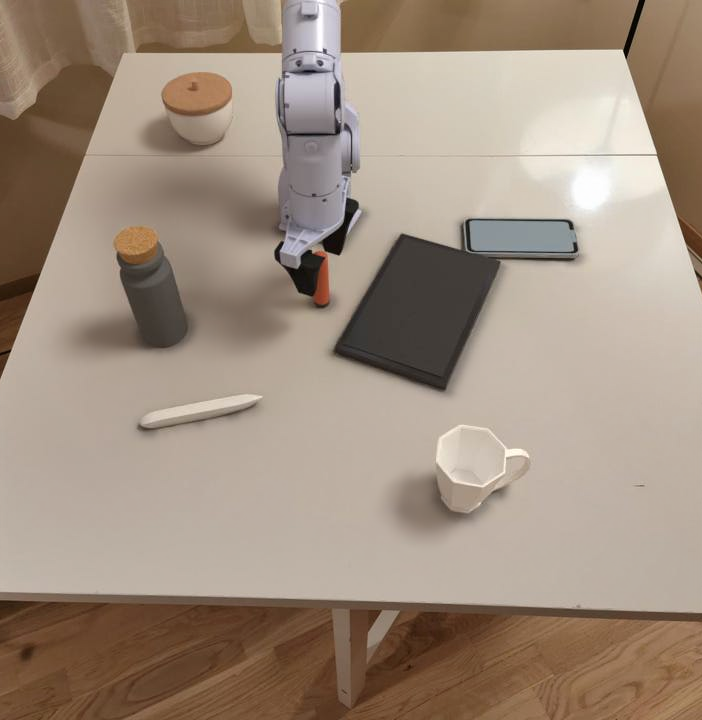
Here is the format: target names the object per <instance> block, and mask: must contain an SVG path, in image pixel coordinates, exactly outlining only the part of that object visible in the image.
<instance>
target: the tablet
mask: <svg viewBox="0 0 702 720" xmlns="http://www.w3.org/2000/svg"><path fill="white" fill-rule="evenodd" d="M501 262H502V261H501V260H498V259H495V258H492V257H484V256H481V255H477V254H474V253H470V252H467V251H465V250H463V249H459V248H455V247H452V246H450V245H449V246H448V245H445V244H441V243H437V242H434V241H431V240H427V239H424V238H419V237H417V236H413V235H410V234H406V233H403V232H400V234H399V236H398V238H397V240H396V242H395V243H394V245H393V247H392V248H391V250H390V252H389V253H388V255H387V256H386V259H385V260H384V262H383V264H382V265H381V267H380V269H379V271H378V272H377V274H376V275H375V277H374V279H373V281H372V283H371V284H370V286H369V288H368V290H367V291H366V293H365V295H364V297H363V298H362V299H361V302H360V303H359V304H358V306H357V308H356V310H355V311H354V313H353V314H352V317H351V319H350V320H349V322H348V324H347V326H346V327H345V329H344V331H342V334H341V336H340V338H339V340H338V341H337V342H336V344H335V346H334V354H336V355H339V356H340V357H341V356H342V357H344V358H348V359H350V360H353V361H356V362H358V363H361V364H365V365H368V366H371V367H374V368H377V369H380V370H382V371H385V372H389V373H392V374H394V375H398V376H400V377H404V378H406V379H409V380H412V381H415V382H418V383H421V384H423V385H427V386H430V387H433V388H435V389H439V390H442V391H444V392H445V391H447V388H448V386H449V385H450V381H451V379H452V377H453V375H454V374H455V373H454V372H455V370H456V369H457V366H458V363H459V361H460V358H461V356H462V354H463V352H464V350H465V347H466V345H467V343H468V340H469V339H470V336H471V334H472V331H473V329H474V327H475V325H476V322H477V320H478V318H479V315H480V313H481V311H482V308H483V306H484V304H485V302H486V299H487V297H488V295H489V292H490V290H491V288H492V286H493V284H494V281H495V279H496V277H497V274H498V273H499V270H500V267H501Z"/></svg>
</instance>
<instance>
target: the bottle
mask: <svg viewBox="0 0 702 720" xmlns="http://www.w3.org/2000/svg"><path fill="white" fill-rule="evenodd" d="M113 248H114V249H115V251H116V255H115V257H116V261H117V264H118V266H119V268H120V269H119V278H120V282H121V284H122V288H123V290H124V293H125V295H126V299H127V301H128V304H129V306H130V309H131V311H132V315H133V317H134V320H135V322H136V323H135V324H136V325H137V328H138V331H139V333H140V335H141V338H142V340H143V342H145V343H146V344H148V345H149V346H150V347H154V348H158V349H159V348H169V347H172V346H174V345H176V344H178V343H180V342H181V341H182V340H183V339H184V338H185V336H186V335H187V333H188V329H189V324H188V319H187V316H186V312H185V308H184V304H183V301H182V299H181V295H180V291H179V288H178V284H177V281H176V277H175V274H174V270H173V265H172V263H171V261H170V259H168V257H166V256H165V250H164V247H163V245H162V243H161V242H160V241H159V237H158V233H157V231H155V229H153V228H152V227H149V226H146V225H134V226H133V225H132V226H129V227H126V228H125V229H123V230H121V231H120V232H119V233H117V235H116V236H115V238H114V240H113Z"/></svg>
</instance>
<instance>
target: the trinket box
mask: <svg viewBox="0 0 702 720" xmlns="http://www.w3.org/2000/svg"><path fill="white" fill-rule="evenodd" d="M160 96H161V101H162V104H163V105H164V110H165V113H166V116H167V118H168V121H169V123H170V125H171V126H172V128H173V130H174V131H175V132H176V133H177V134H178V135H179V136H180V137H181V138H183V139H185V140H186V141H187V142H189V143H190V144H192V145H195V146H210V145H212V144H213V145H214V144H216V143H218V142H219V141H221V139H222V138H223V137H224V135H225V134H226V133H227V131H228V130H229V128H230V127H231V123H232V120H233V117H234V101H233V87H232V84H231V82H230V81H229V80H228V79H227V78H226V77H224V76H222V75H220V74H218V73H214V72H209V71H195V72H189V73H184V74H182V75H178V76H177V77H174V78H172V79H171V80H170V81H168V82H167V83H166V84H165V85H164V86H163V88H162V90H161V95H160Z"/></svg>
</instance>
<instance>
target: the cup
mask: <svg viewBox="0 0 702 720" xmlns="http://www.w3.org/2000/svg"><path fill="white" fill-rule="evenodd" d="M515 458H522V459H524V462H523V464H522V465H521V466H520V468H518V469H516V470H515V471H513V472H511V473H509V474H508V475H506V476H504V475H505V474H506V467H507V461H508V460H512V459H515ZM434 462H435V470H436V481H437V486H438V489H439V492H440V499H441V501H442V502H443V503H444V504H445V505H446V507H447V508H448V509H449V510H450V511H451V512H455V513H461V514H469V513H471V512H473V511H474V510H476V509H477V508H479V507H480V506H481V504H482V502H483V501H484V500H485V499H486V498H487V497H488V496H490V495H491V494H492V492H495V491H497V490H499V489H502V488H504V487H505V486H508V485H510V484H512V483H514V482H515V481H518V480H519V479H521V478H522V477H524V476H525V475H526V474H527V473H528V472H529V471H530V469H531V458H530V456H529V453H528V452H527V451H526V450H524V449H523V448H509V449H508V448H507V446H505V445H504V444H503V443H502V442H501V441H500V440H499V438H498V437H497V436H495V434H494V433H493V432H492V431H491V430H490V429H489V428H485V427H480V426H473V425H469V424H468V425H466V424H462V423H461V424H459V425H457V426H455V427H453V428H451V429H450V430H448V431H447V432H445V433H444V434H442V435H440V436H439V437H438V439H437V447H436V454H435V461H434Z"/></svg>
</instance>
